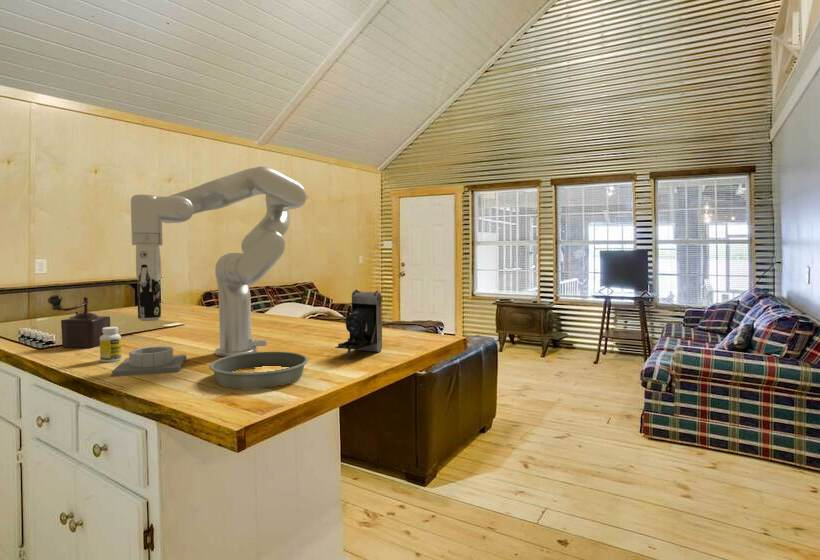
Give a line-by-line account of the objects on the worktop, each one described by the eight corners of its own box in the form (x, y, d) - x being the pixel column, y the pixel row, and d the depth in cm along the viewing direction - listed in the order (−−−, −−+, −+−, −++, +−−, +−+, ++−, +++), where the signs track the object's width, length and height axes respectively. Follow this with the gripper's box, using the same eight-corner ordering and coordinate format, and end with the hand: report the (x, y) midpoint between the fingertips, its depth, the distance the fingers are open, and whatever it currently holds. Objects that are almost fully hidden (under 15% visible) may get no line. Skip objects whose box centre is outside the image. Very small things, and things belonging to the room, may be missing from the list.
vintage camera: (332, 359, 151) (331, 295, 148) (356, 348, 165) (356, 288, 163) (361, 363, 147) (360, 296, 145) (383, 351, 161) (383, 290, 159)
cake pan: (295, 362, 146) (295, 347, 146) (320, 383, 124) (319, 366, 124) (205, 372, 135) (204, 356, 135) (215, 397, 113) (214, 378, 113)
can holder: (186, 358, 150) (186, 343, 150) (179, 371, 135) (178, 354, 134) (126, 362, 145) (126, 346, 145) (112, 376, 130) (111, 358, 130)
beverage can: (162, 319, 143) (161, 277, 142) (160, 320, 137) (158, 277, 137) (139, 320, 141) (138, 277, 140) (136, 321, 135) (135, 277, 135)
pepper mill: (82, 341, 175) (80, 291, 174) (112, 342, 174) (110, 291, 173) (46, 351, 160) (43, 295, 158) (79, 352, 159) (76, 296, 157)
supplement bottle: (111, 362, 144) (110, 329, 144) (96, 362, 145) (94, 328, 145) (126, 358, 150) (124, 326, 149) (110, 357, 151) (109, 325, 150)
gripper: (156, 240, 130) (158, 309, 132) (167, 240, 147) (168, 302, 148) (124, 239, 128) (126, 310, 129) (138, 240, 144) (140, 302, 145)
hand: (149, 305), depth 139 cm, fingers closed on beverage can, 4 cm apart
